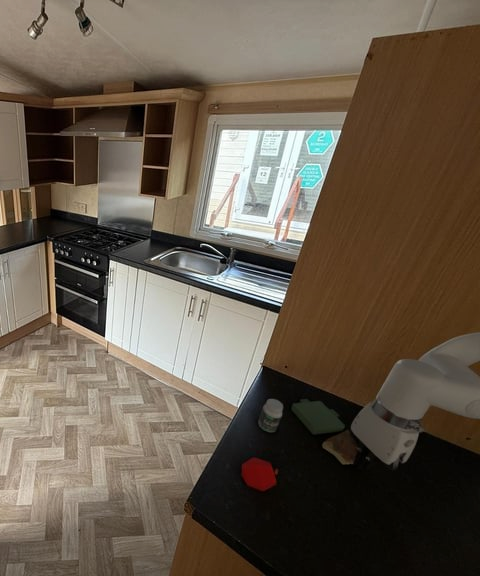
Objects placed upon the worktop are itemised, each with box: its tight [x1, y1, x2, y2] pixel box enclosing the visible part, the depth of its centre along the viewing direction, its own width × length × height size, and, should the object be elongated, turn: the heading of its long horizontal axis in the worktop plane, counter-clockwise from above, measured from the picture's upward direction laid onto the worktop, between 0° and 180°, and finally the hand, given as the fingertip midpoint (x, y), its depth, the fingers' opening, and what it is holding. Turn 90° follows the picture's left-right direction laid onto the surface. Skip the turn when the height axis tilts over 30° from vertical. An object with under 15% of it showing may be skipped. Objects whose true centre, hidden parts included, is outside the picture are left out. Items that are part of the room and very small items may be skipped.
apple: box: [240, 457, 279, 492], centre depth 72 cm, size 7×7×8 cm
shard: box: [322, 428, 358, 465], centre depth 81 cm, size 11×8×2 cm
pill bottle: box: [258, 398, 284, 433], centre depth 86 cm, size 5×5×8 cm
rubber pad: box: [290, 398, 346, 435], centre depth 90 cm, size 10×10×2 cm
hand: (361, 465), depth 76 cm, fingers closed
